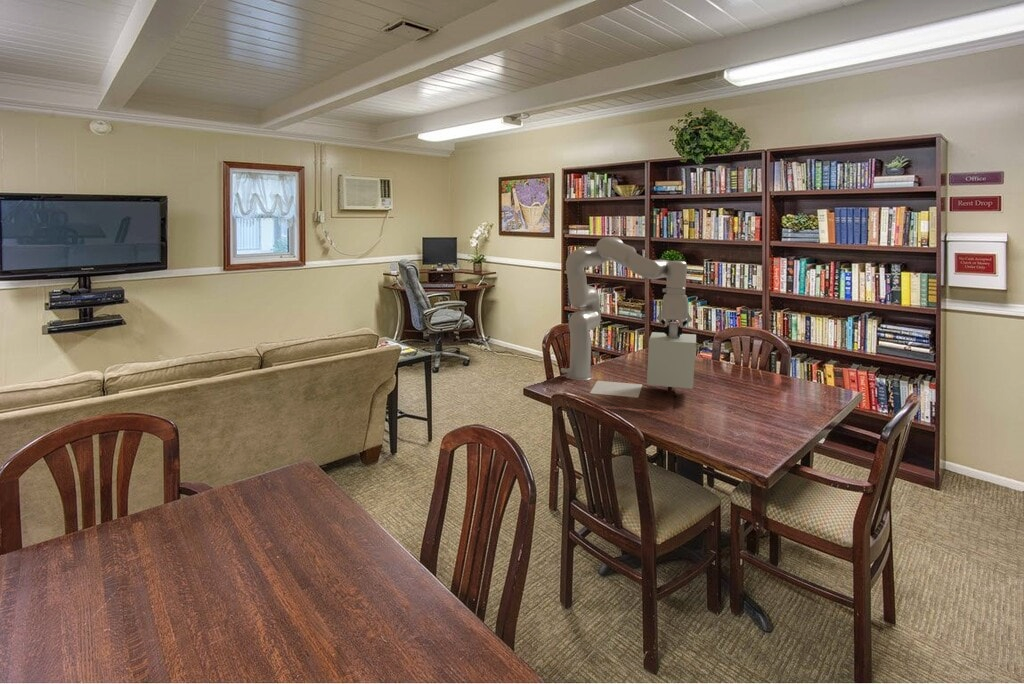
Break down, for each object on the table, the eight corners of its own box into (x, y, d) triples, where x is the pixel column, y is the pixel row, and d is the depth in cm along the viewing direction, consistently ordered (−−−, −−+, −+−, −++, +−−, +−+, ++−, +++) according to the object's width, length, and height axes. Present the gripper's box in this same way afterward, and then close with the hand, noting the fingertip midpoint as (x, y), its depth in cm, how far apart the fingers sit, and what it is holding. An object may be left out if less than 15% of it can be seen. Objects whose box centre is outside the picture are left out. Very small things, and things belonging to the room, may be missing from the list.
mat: (589, 395, 239) (589, 393, 239) (597, 382, 258) (597, 380, 258) (638, 399, 233) (638, 397, 233) (642, 386, 252) (642, 384, 252)
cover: (646, 384, 232) (649, 325, 227) (650, 373, 249) (652, 318, 244) (693, 388, 227) (697, 327, 222) (693, 377, 243) (697, 320, 238)
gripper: (653, 292, 229) (651, 336, 233) (697, 293, 224) (694, 339, 228) (655, 290, 236) (652, 333, 240) (697, 291, 231) (694, 335, 235)
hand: (673, 335), depth 234 cm, fingers closed on cover, 4 cm apart
